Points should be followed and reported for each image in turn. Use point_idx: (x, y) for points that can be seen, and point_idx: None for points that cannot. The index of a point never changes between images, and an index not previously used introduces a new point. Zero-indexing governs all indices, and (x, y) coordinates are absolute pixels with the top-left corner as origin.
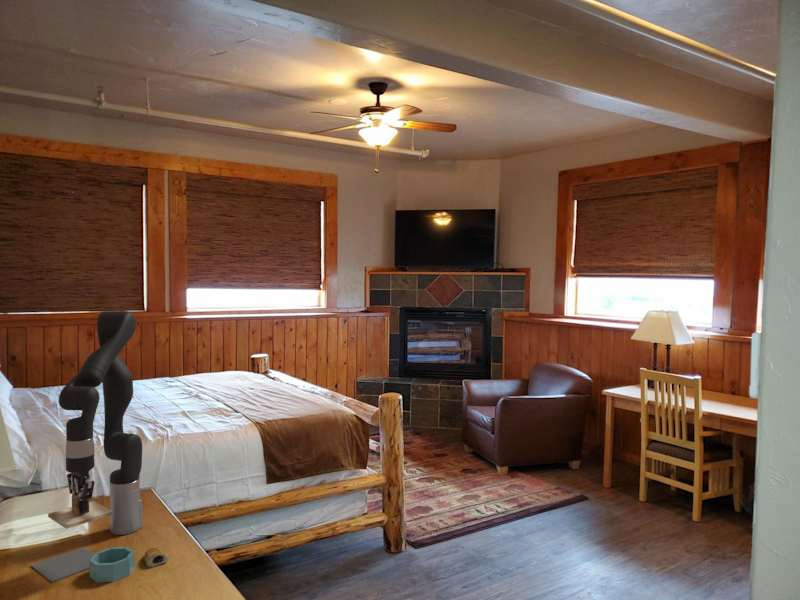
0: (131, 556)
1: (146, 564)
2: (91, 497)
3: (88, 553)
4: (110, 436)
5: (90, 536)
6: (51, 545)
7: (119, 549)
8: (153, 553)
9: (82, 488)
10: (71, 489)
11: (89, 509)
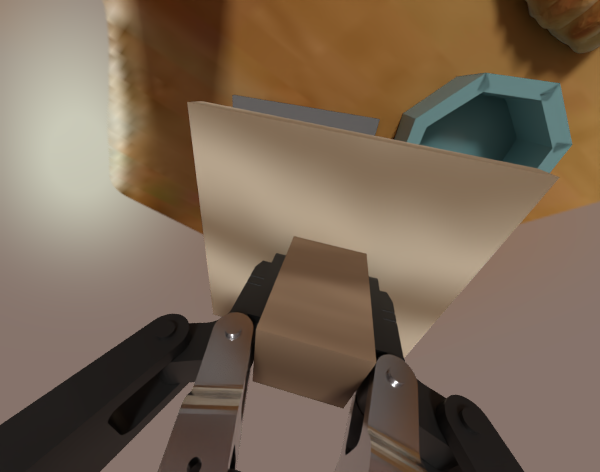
0: (564, 121)
1: (580, 52)
2: (485, 420)
3: (284, 113)
4: None
5: (156, 11)
6: (156, 132)
7: (459, 105)
8: None
9: (241, 399)
10: (173, 392)
11: (326, 226)
